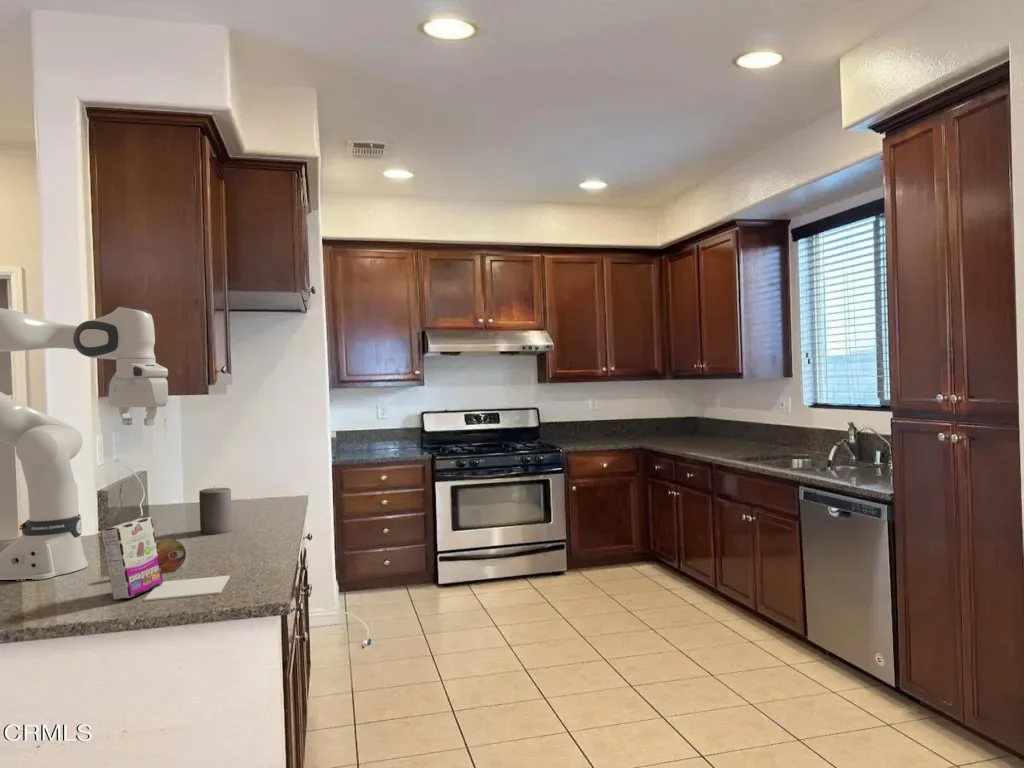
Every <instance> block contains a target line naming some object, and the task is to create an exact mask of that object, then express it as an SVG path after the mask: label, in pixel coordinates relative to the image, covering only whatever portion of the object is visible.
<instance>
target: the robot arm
mask: <svg viewBox="0 0 1024 768" xmlns="http://www.w3.org/2000/svg"><path fill="white" fill-rule="evenodd" d="M154 323H155V322H154V319H153V316H152V313H151V312H150V311H148V310H147V309H144V308H140V307H139V308H138V307H133V306H129V305H126V306H124V305H123V306H118V307H116V308H115V309H114V310H113V311H112V312H110V313H108V314H106V315H104V316H100V317H99V318H98V317H97V318H95V319H91V320H86V321H83V322H81V323H80V324H79V325H73V324H63V323H58V322H53V321H50V320H47V319H43V318H40V317H37V316H34V315H32V314H31V315H30V314H28V313H23V312H21V311H17V310H12V309H8V308H3V307H2V308H1V307H0V353H2V352H3V353H7V352H9V353H11V352H12V353H13V352H21V351H34V350H42V349H43V350H44V349H46V350H47V349H65V350H66V349H69V350H76V351H77V352H78V353H79V354H80V355H83V356H85V357H88V358H91V359H92V358H93V359H103V360H113V361H115V364H116V365H115V366H116V368H115V369H116V371H115V372H114V374H113V376H112V378H111V379H110V382H109V387H108V404H109V407H110V408H118V413H119V415H120V418H121V425H122V426H131V425H132V424H133V418H132V417H131V415H130V411H131V409H130V408H145V412H146V417H145V418H143V421H144V422H143V424H144V426H149V427H150V426H151V427H152V426H154V425H155V417H156V415H157V412H158V408H161V407H162V408H164V407H166V406H167V404H168V401H169V385H168V384H169V383H168V380H167V377H168V376H169V370H168V368H167V367H165V366H163V365H161V364H159V363H157V362H156V355H155V351H154V350H155V349H154V348H155V345H156V333H155V324H154ZM82 437H83V436H82V434H81V432H79V430H78V429H76V428H75V427H74V426H72V425H69V424H67V423H66V422H64V421H61V420H60V419H57V418H55V417H53V416H51V415H48V414H46V413H45V412H42V411H40V410H37V409H35V408H32V407H30V406H28V405H26V404H23V403H21V402H20V401H18V400H16V399H14V398H13V397H10V396H9V395H7V394H6V393H4V392H3V391H0V443H3V444H5V445H10V446H12V447H15V455H16V456H17V458H18V460H19V461H20V464H21V468H22V471H23V473H22V474H23V477H24V481H25V483H26V487H27V496H28V515H29V516H28V517H29V519H27V520H25V521H24V522H23V523H22V524H20V525H19V526H18V527H19V529H18V530H19V531H20V530H21V533H22V534H21V535H19V537H17V538H16V539H15V540H14V541H13V542H12V543H10V544H9V545H7V546H6V547H5V548H4V549H3V550H2V551H0V580H8V579H9V580H10V579H21V580H20V581H26V580H25V579H32V580H31V581H33V579H34V580H36V581H37V580H45V579H49V578H53V577H56V576H61V575H66V574H70V573H73V572H77V571H80V570H82V569H85V568H86V567H88V566H89V563H88V561H87V559H86V555H85V551H84V549H83V543H82V537H81V535H82V531H83V530H82V529H83V527H82V526H83V525H82V517H81V514H80V513H79V496H78V494H79V492H78V491H79V490H78V489H79V488H78V483H77V482H76V480H75V477H74V474H73V470H72V465H71V460H72V459H73V458H75V457H76V456H77V455H78V454H79V452H80V451H81V449H82V447H83V438H82ZM23 579H24V580H23Z"/></svg>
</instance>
